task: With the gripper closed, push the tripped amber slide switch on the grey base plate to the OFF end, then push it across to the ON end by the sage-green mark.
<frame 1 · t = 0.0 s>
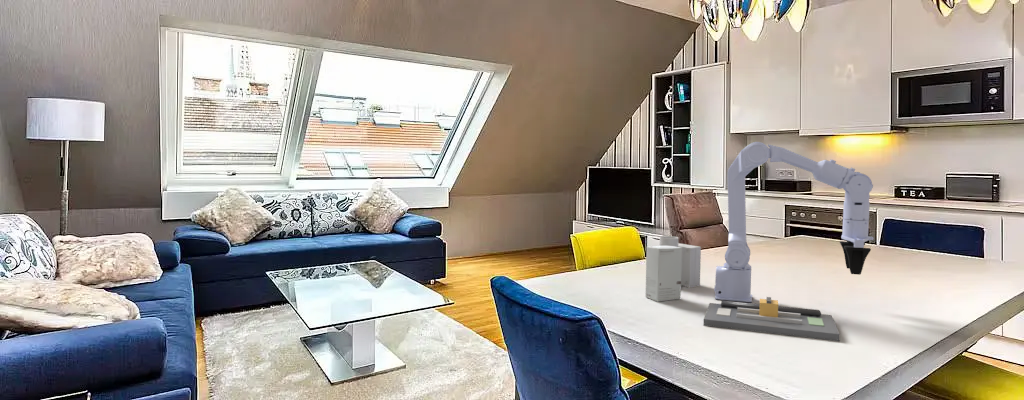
hand: (853, 271, 145), 10 cm above the table, tool pointing down, fingers open, 7 cm apart
skincare box: (662, 298, 157), on the table
grey base plate: (768, 323, 134), on the table
white box: (669, 285, 174), on the table
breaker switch: (768, 307, 133), point 4 cm above the table, slide at 4.0 cm
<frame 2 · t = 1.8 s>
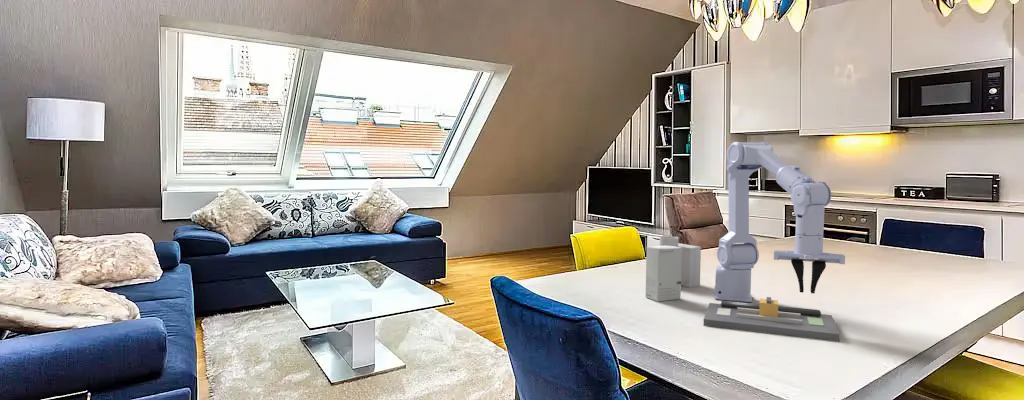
hand: (806, 292, 130), 8 cm above the table, tool pointing down, fingers closed
nothing on the table moved.
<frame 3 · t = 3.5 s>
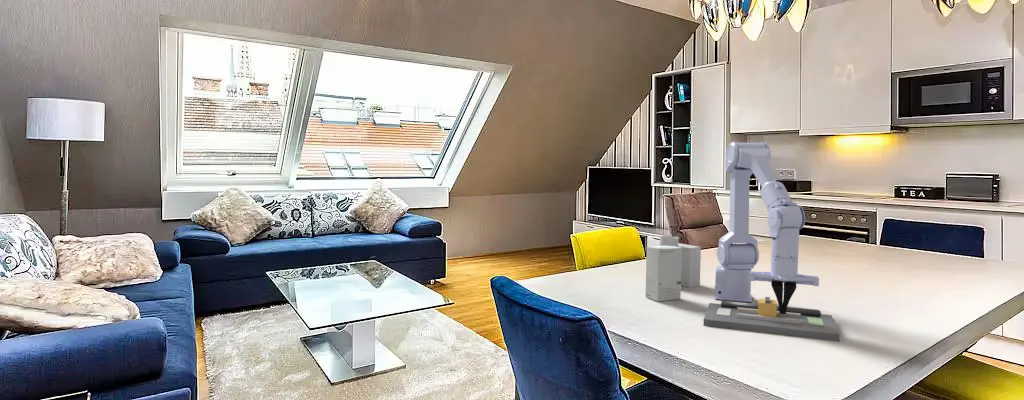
hand: (782, 312, 132), 3 cm above the table, tool pointing down, fingers closed
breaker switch: (767, 307, 133), point 4 cm above the table, slide at 3.7 cm, touching gripper
everything else where it was.
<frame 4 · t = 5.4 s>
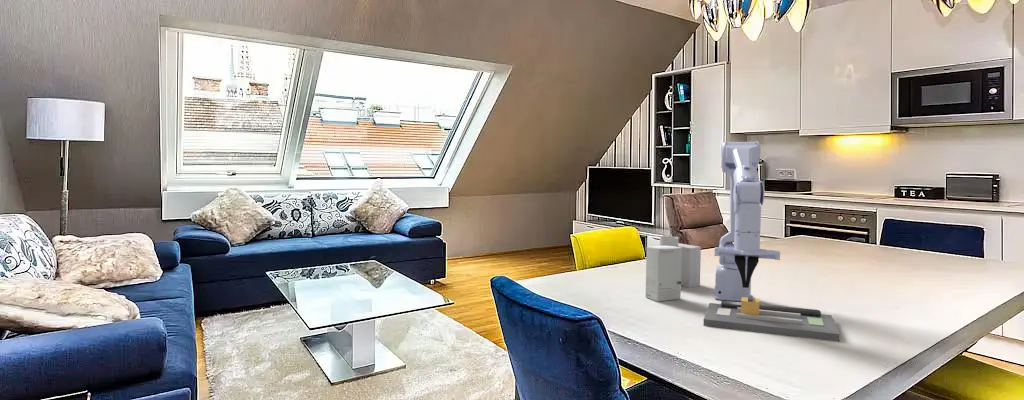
hand: (745, 286, 135), 8 cm above the table, tool pointing down, fingers closed
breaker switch: (750, 305, 135), point 4 cm above the table, slide at -0.1 cm
everything else where it was.
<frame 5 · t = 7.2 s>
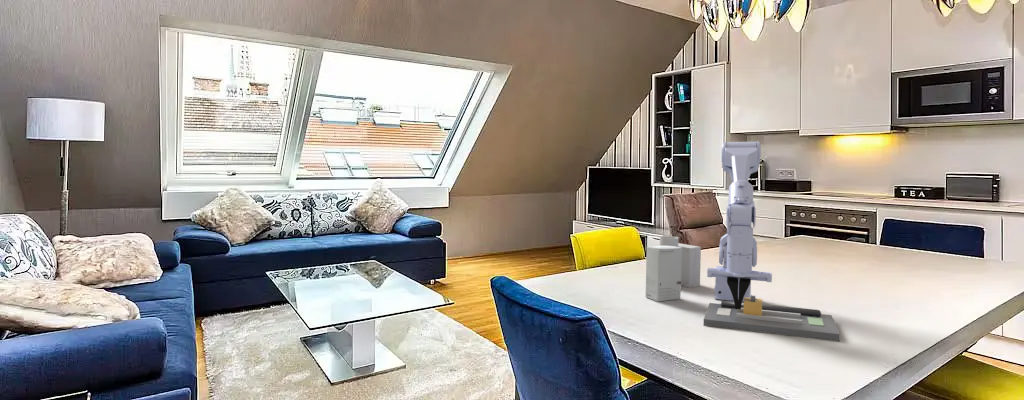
hand: (738, 308, 136), 3 cm above the table, tool pointing down, fingers closed
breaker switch: (752, 305, 135), point 4 cm above the table, slide at 0.5 cm, touching gripper
everything else where it was.
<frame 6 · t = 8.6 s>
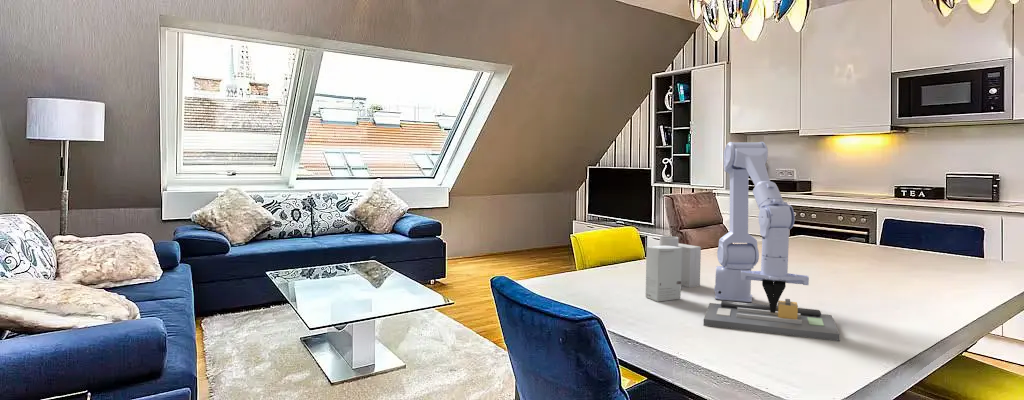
hand: (772, 311, 133), 3 cm above the table, tool pointing down, fingers closed
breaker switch: (787, 309, 132), point 4 cm above the table, slide at 8.1 cm, touching gripper
everything else where it was.
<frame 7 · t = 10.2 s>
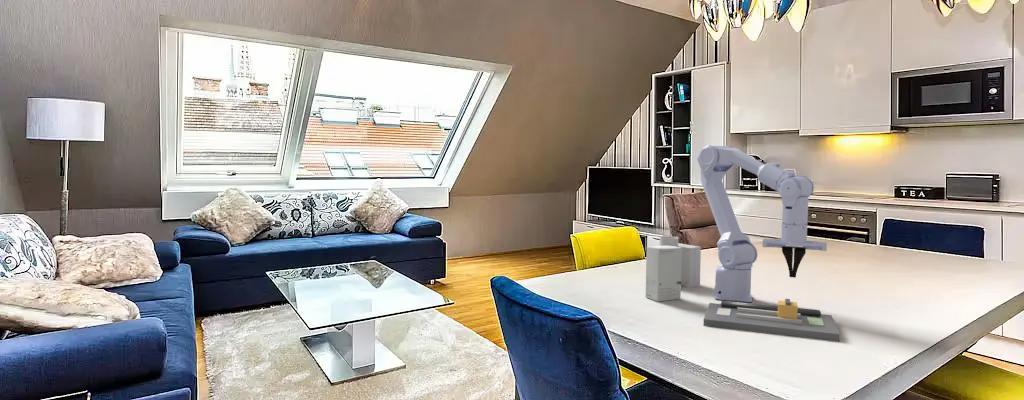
hand: (792, 276, 142), 9 cm above the table, tool pointing down, fingers closed
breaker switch: (787, 309, 132), point 4 cm above the table, slide at 8.1 cm
everything else where it was.
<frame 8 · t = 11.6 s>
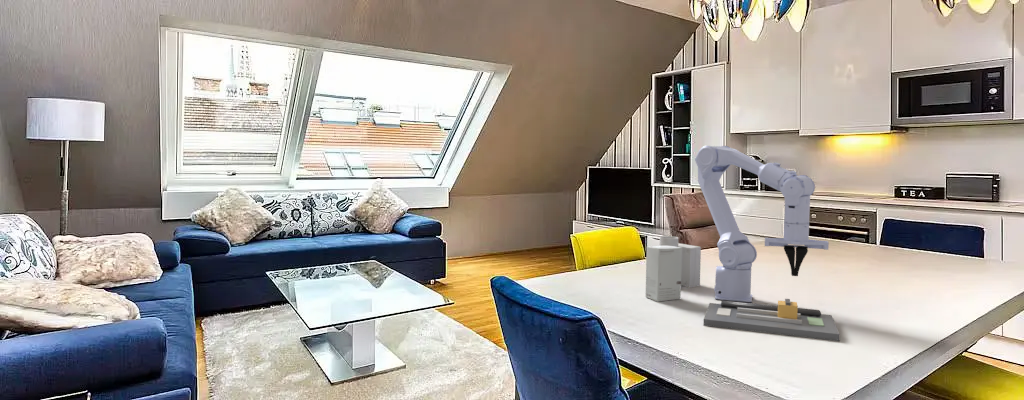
hand: (794, 275, 143), 9 cm above the table, tool pointing down, fingers closed
nothing on the table moved.
at the end: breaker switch slide at 8.1 cm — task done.
